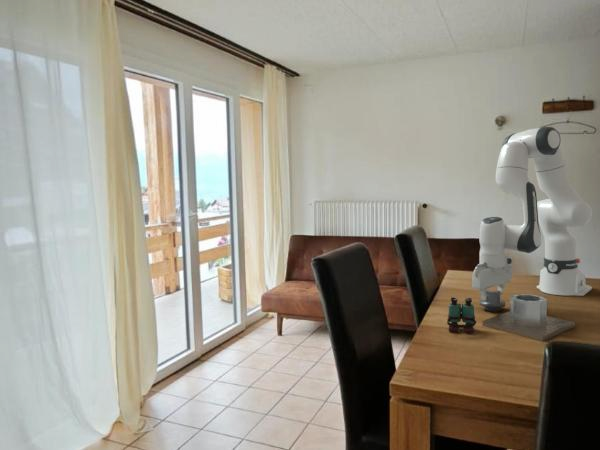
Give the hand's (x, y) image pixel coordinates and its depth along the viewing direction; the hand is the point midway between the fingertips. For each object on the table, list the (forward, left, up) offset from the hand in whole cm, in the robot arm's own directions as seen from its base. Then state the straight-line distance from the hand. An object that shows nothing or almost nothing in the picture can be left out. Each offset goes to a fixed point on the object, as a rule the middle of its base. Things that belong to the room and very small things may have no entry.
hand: (492, 297), depth 167 cm
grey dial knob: (0, 0, -5) cm, 5 cm away
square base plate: (+8, +18, -5) cm, 20 cm away
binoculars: (+28, +7, -5) cm, 29 cm away
